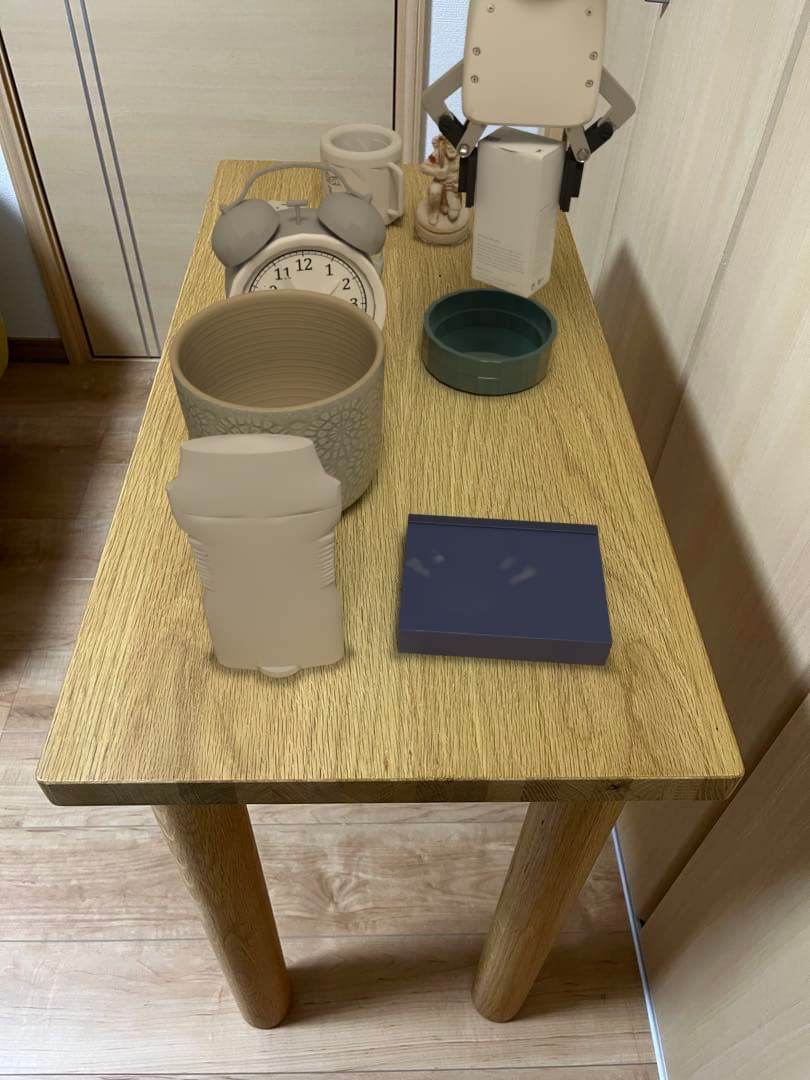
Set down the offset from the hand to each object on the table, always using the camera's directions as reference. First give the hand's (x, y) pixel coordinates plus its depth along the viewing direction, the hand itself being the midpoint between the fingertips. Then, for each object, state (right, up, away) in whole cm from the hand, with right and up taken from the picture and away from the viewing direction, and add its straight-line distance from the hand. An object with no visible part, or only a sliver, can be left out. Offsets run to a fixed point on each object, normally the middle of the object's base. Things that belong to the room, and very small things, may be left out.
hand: (516, 201), depth 68 cm
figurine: (-4, +13, +42) cm, 44 cm away
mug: (-14, +16, +45) cm, 50 cm away
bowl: (0, -8, +23) cm, 24 cm away
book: (-1, -33, 0) cm, 33 cm away
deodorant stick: (-19, -37, -4) cm, 42 cm away
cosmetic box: (0, -5, +5) cm, 7 cm away
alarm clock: (-19, -10, +21) cm, 30 cm away
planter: (-20, -23, +8) cm, 31 cm away
